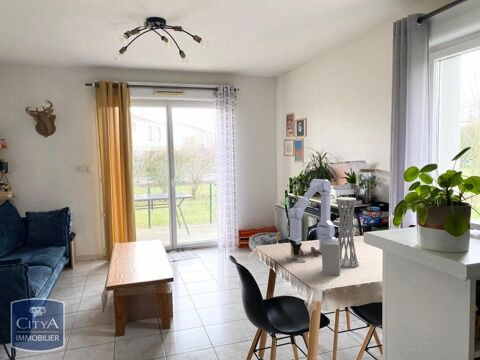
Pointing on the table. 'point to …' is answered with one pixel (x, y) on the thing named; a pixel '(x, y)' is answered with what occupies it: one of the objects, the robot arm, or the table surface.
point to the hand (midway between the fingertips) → (295, 253)
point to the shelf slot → (311, 252)
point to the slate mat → (295, 259)
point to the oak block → (295, 255)
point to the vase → (353, 259)
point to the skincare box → (331, 258)
